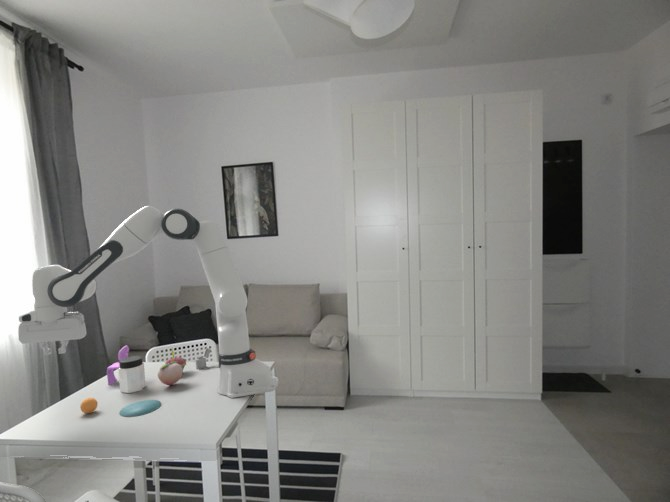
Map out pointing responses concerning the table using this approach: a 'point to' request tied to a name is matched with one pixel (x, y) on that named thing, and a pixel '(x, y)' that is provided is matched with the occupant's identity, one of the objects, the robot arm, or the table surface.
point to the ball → (88, 405)
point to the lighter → (202, 359)
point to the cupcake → (177, 360)
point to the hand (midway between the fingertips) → (55, 353)
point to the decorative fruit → (170, 373)
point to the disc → (140, 408)
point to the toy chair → (116, 364)
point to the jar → (131, 374)
